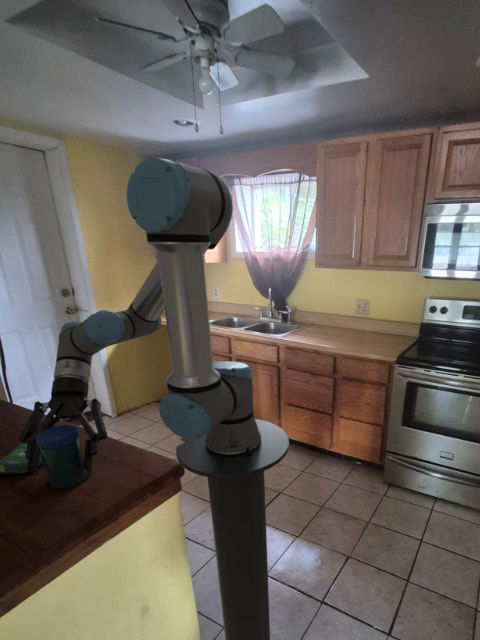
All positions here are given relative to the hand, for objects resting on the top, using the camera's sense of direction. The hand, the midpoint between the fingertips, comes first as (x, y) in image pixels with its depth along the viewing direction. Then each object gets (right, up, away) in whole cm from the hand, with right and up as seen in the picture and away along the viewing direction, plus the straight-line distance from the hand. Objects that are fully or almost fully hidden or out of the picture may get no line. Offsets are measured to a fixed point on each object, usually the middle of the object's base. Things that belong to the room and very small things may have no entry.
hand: (59, 471), depth 82 cm
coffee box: (-15, +5, +17) cm, 24 cm away
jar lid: (0, +8, 0) cm, 8 cm away
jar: (-1, -2, +4) cm, 5 cm away
